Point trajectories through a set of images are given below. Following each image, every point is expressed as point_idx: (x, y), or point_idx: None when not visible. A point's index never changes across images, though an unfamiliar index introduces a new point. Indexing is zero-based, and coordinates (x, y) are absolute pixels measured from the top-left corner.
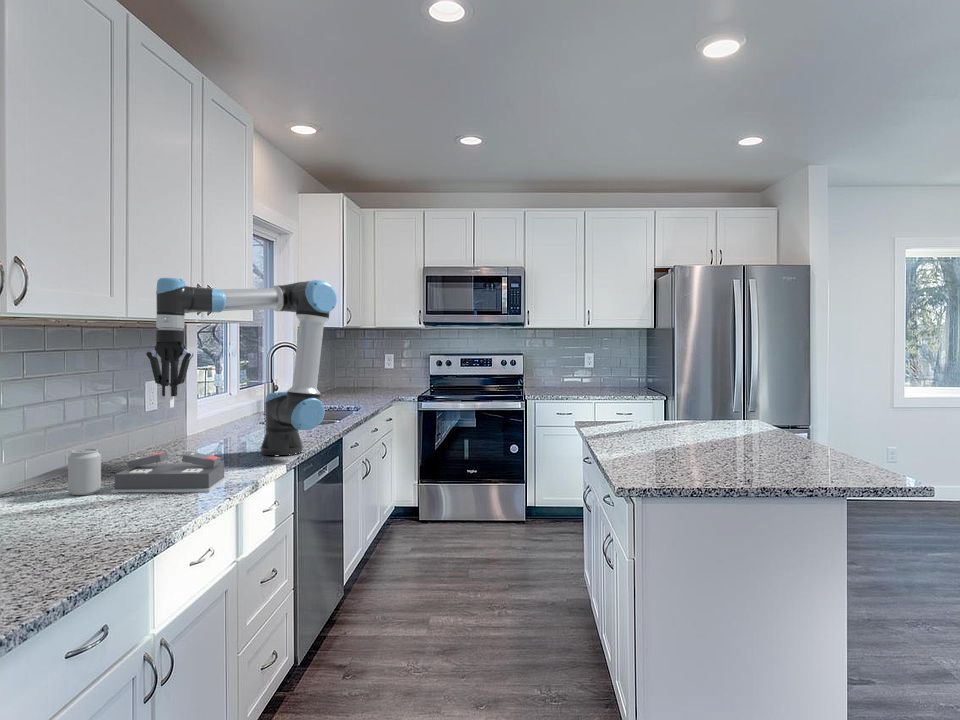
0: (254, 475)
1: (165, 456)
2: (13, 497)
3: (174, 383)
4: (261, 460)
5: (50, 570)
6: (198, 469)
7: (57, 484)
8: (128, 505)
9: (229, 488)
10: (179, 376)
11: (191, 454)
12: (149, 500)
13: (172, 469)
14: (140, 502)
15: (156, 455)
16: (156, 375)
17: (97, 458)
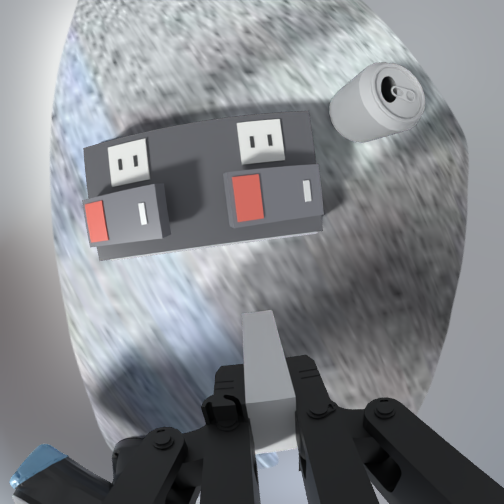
0: (80, 295)
1: (229, 210)
2: (440, 100)
3: (206, 428)
4: (146, 416)
5: None
6: (118, 173)
7: (438, 187)
8: (208, 39)
9: (74, 181)
10: (144, 485)
11: (139, 203)
12: (186, 70)
13: (190, 174)
14: (196, 56)
15: (236, 172)
16: (419, 452)
17: (357, 88)
